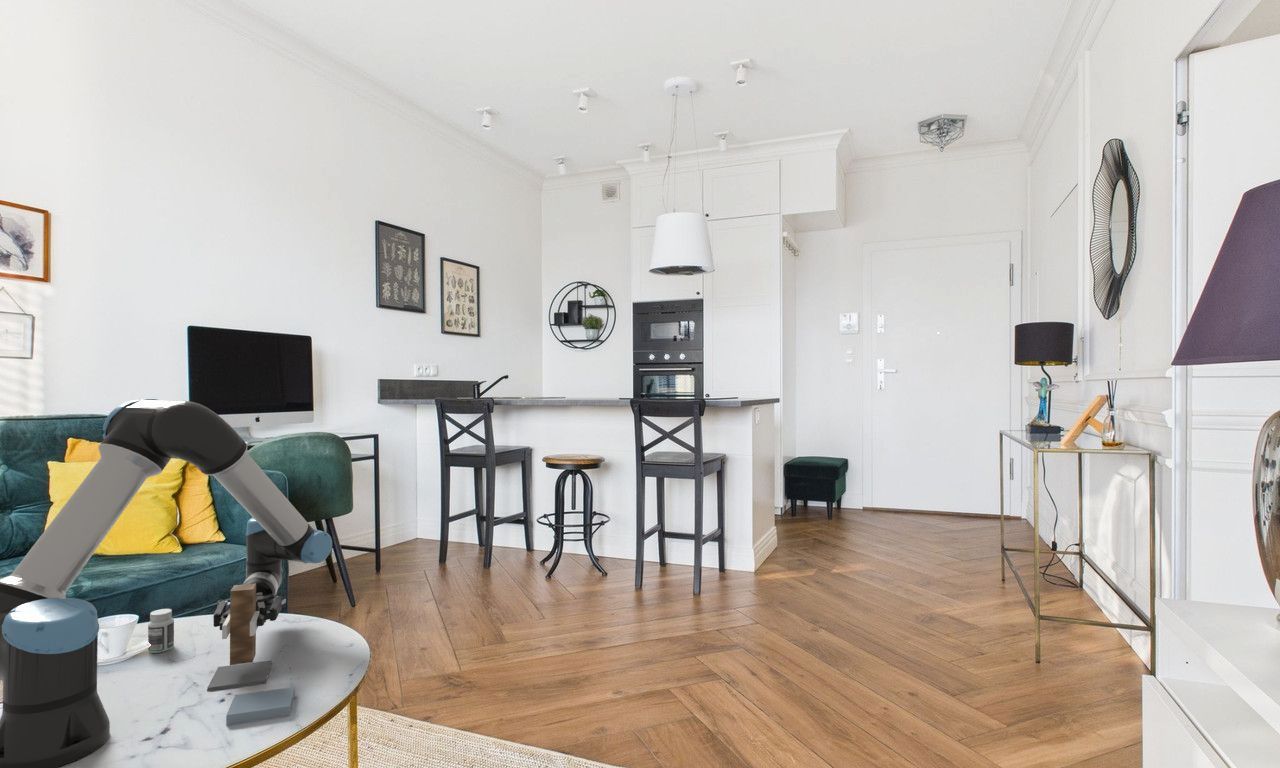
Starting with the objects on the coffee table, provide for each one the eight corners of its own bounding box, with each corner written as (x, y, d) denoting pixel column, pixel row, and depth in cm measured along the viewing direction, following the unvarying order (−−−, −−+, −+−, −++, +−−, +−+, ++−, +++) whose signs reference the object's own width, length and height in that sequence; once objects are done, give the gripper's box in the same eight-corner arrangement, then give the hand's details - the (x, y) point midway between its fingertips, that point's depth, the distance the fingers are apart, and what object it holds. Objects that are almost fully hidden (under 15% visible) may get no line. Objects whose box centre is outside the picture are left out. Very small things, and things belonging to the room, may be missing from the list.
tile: (234, 706, 126) (226, 727, 118) (235, 694, 126) (226, 715, 118) (294, 697, 129) (289, 717, 122) (294, 686, 129) (289, 706, 122)
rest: (207, 690, 131) (207, 687, 131) (218, 669, 140) (218, 666, 140) (265, 683, 135) (265, 680, 135) (272, 663, 144) (272, 660, 144)
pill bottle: (169, 643, 153) (170, 606, 153) (176, 648, 150) (177, 611, 150) (144, 649, 149) (145, 611, 149) (151, 655, 146) (152, 617, 146)
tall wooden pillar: (229, 665, 135) (230, 591, 135) (233, 657, 139) (234, 585, 138) (252, 662, 136) (252, 589, 136) (255, 654, 140) (256, 583, 140)
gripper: (298, 605, 157) (286, 643, 136) (214, 614, 151) (187, 655, 129) (298, 573, 157) (286, 606, 136) (214, 580, 151) (187, 616, 129)
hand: (238, 630), depth 132 cm, fingers closed on tall wooden pillar, 4 cm apart
